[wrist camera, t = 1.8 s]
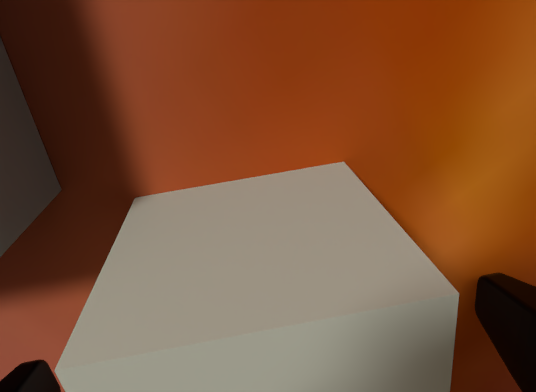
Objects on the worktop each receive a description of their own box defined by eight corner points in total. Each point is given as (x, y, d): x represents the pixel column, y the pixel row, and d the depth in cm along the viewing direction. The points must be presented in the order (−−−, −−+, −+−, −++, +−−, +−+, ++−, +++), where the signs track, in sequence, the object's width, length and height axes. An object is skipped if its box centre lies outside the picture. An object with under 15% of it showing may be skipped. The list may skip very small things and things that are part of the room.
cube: (343, 160, 9) (459, 293, 5) (351, 318, 11) (438, 512, 7) (135, 196, 9) (54, 371, 5) (183, 350, 11) (161, 572, 7)
